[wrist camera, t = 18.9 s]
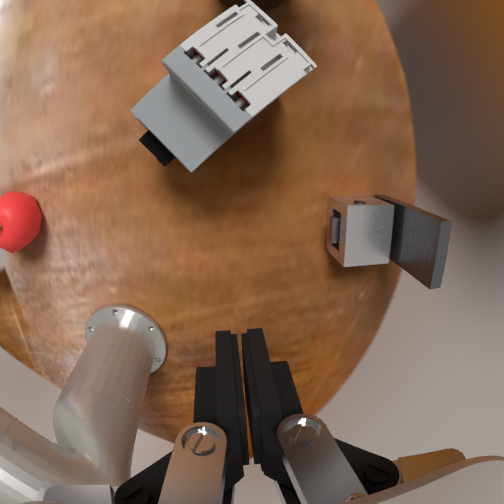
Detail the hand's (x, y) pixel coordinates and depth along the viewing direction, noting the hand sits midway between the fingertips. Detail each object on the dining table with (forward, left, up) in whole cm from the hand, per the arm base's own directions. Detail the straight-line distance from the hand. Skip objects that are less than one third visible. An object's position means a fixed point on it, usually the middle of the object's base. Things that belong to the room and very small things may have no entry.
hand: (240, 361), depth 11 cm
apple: (+2, +28, -27) cm, 39 cm away
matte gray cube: (-2, -16, -27) cm, 31 cm away
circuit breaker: (+12, +1, -27) cm, 30 cm away
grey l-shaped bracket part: (-2, -17, -27) cm, 32 cm away
